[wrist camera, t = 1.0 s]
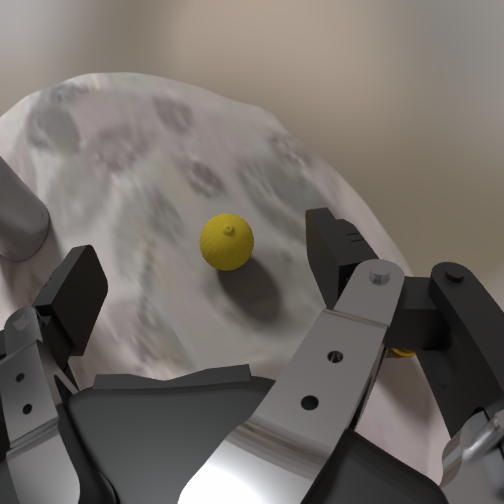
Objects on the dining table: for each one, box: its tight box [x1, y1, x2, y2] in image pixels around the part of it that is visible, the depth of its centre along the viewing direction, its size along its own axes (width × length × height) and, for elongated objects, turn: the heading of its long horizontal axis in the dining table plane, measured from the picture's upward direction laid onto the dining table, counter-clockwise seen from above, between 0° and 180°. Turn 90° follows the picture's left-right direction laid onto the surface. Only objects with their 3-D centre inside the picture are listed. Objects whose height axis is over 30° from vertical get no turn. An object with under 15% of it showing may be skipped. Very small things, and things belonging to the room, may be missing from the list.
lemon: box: [200, 213, 254, 271], centre depth 32 cm, size 6×6×8 cm
